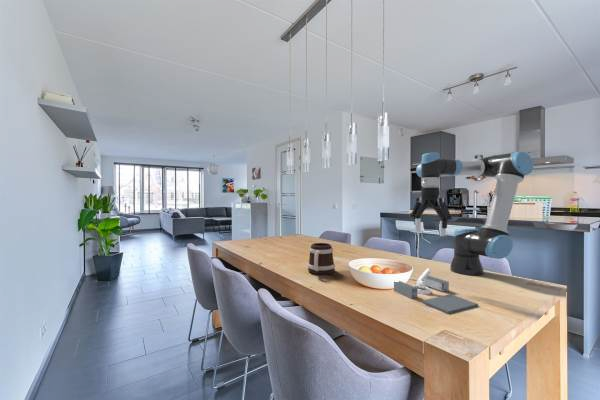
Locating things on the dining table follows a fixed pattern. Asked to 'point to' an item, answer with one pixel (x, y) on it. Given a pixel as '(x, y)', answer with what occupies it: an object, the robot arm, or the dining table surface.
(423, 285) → the hook
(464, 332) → the dining table surface
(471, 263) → the robot arm
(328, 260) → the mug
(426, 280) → the grey blocks
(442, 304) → the mat
